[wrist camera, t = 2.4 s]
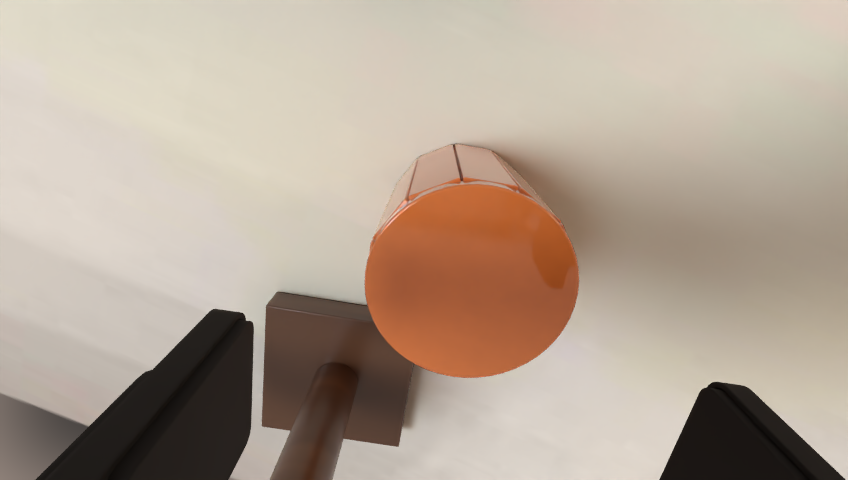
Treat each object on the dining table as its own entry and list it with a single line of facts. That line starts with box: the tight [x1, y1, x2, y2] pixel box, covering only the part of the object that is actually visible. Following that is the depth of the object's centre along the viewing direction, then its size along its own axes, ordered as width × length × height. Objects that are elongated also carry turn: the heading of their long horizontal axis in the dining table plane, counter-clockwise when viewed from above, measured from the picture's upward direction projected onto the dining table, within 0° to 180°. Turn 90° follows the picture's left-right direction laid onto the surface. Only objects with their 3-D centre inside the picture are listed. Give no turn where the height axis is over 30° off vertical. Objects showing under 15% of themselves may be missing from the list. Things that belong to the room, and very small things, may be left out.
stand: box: [262, 292, 414, 480], centre depth 19 cm, size 8×8×13 cm
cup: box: [365, 144, 579, 378], centre depth 18 cm, size 7×7×8 cm
